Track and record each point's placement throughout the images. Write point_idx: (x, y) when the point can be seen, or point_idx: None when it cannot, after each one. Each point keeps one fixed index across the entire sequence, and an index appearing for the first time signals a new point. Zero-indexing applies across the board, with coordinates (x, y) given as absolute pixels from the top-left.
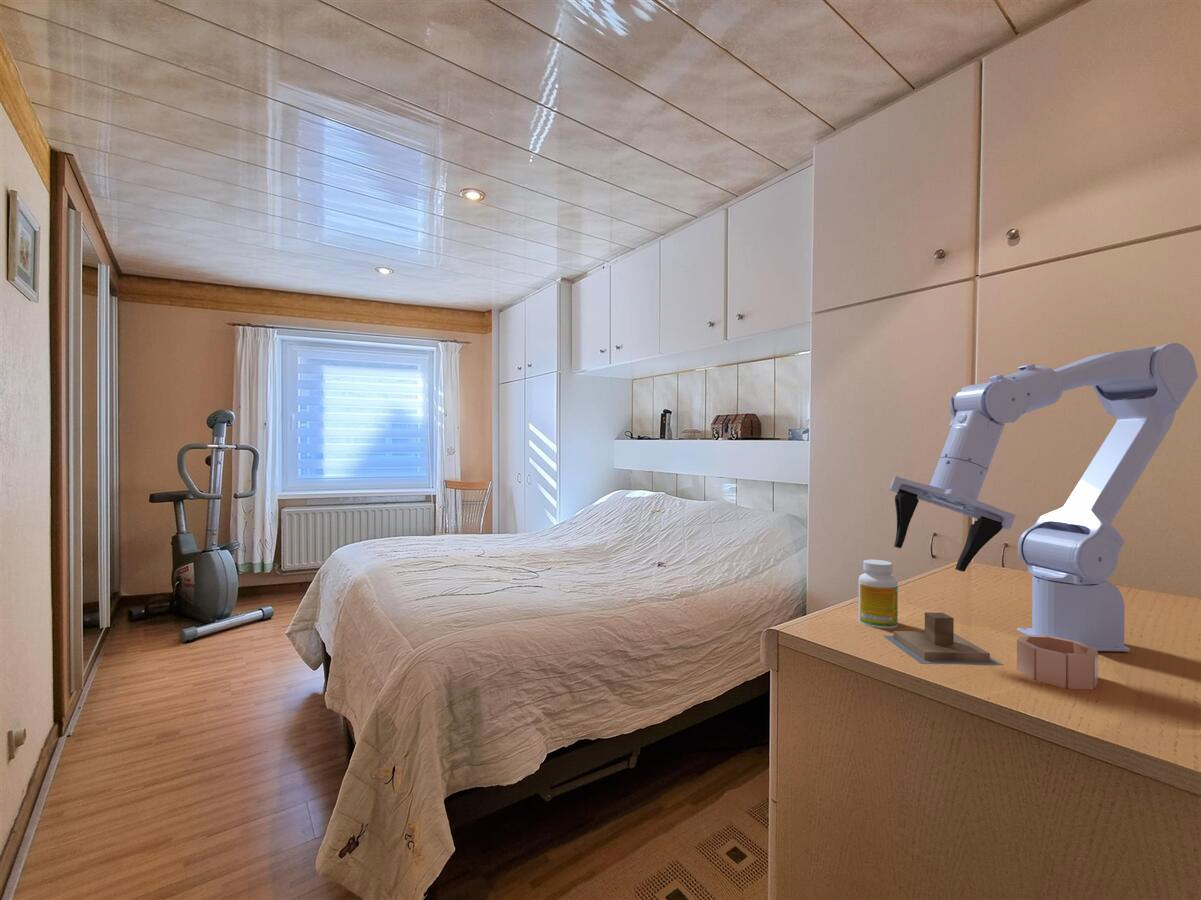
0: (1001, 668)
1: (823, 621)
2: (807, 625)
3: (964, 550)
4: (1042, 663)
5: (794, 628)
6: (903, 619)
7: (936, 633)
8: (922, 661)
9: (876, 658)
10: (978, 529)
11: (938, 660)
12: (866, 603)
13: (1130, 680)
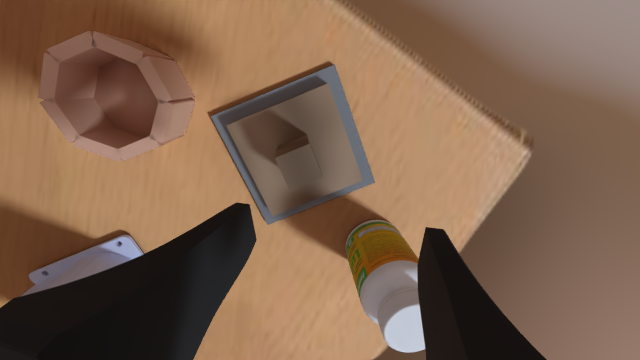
0: (215, 113)
1: (452, 226)
2: (479, 195)
3: (218, 282)
4: (146, 50)
5: (502, 171)
6: (331, 288)
7: (304, 139)
8: (330, 73)
9: (396, 74)
10: (119, 299)
11: (305, 91)
12: (406, 244)
13: (41, 142)
